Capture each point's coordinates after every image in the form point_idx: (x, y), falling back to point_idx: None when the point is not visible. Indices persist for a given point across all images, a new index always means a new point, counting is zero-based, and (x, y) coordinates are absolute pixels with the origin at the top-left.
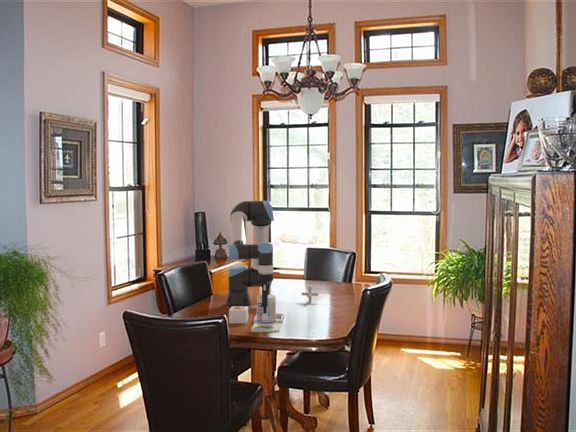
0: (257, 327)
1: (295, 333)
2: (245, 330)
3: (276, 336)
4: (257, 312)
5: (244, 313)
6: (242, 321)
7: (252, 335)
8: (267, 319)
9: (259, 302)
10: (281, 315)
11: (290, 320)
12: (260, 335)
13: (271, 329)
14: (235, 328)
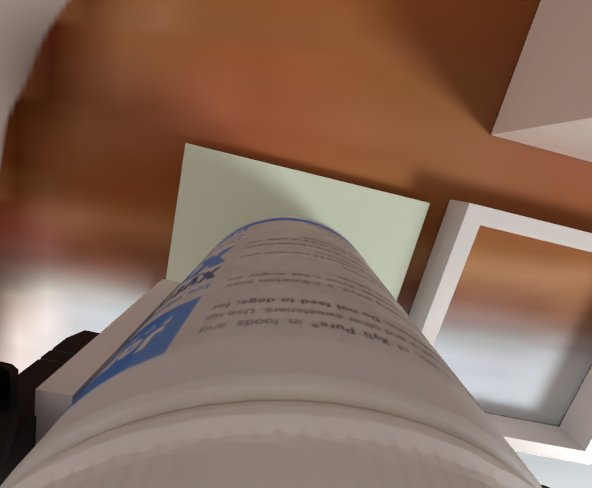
0: (274, 214)
1: None
2: (249, 99)
3: (38, 325)
4: (241, 250)
5: (586, 98)
6: (517, 94)
7: (73, 144)
8: None
9: (77, 403)
10: (575, 436)
11: None
12: (71, 212)
13: None
14: (341, 3)
